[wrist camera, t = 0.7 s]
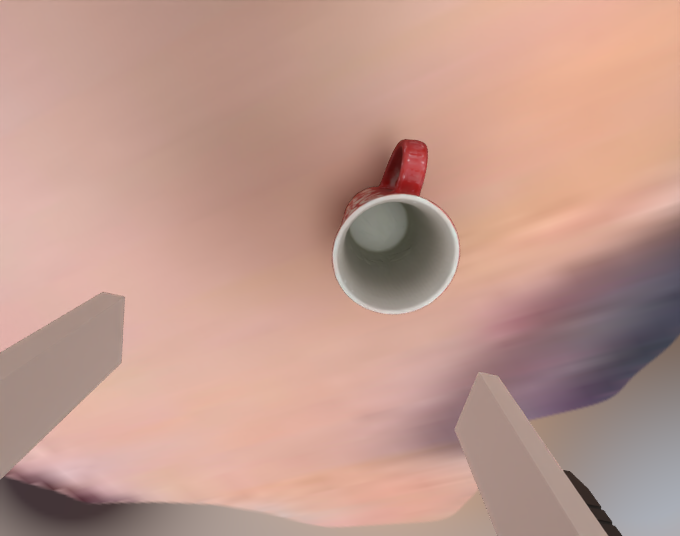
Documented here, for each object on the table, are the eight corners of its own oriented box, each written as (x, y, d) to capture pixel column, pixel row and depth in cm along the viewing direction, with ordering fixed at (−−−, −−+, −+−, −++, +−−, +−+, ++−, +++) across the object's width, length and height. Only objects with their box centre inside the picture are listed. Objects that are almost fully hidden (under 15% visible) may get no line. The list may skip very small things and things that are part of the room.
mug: (406, 271, 40) (437, 327, 27) (326, 252, 39) (319, 301, 26) (442, 155, 36) (499, 156, 23) (355, 132, 35) (363, 120, 22)
